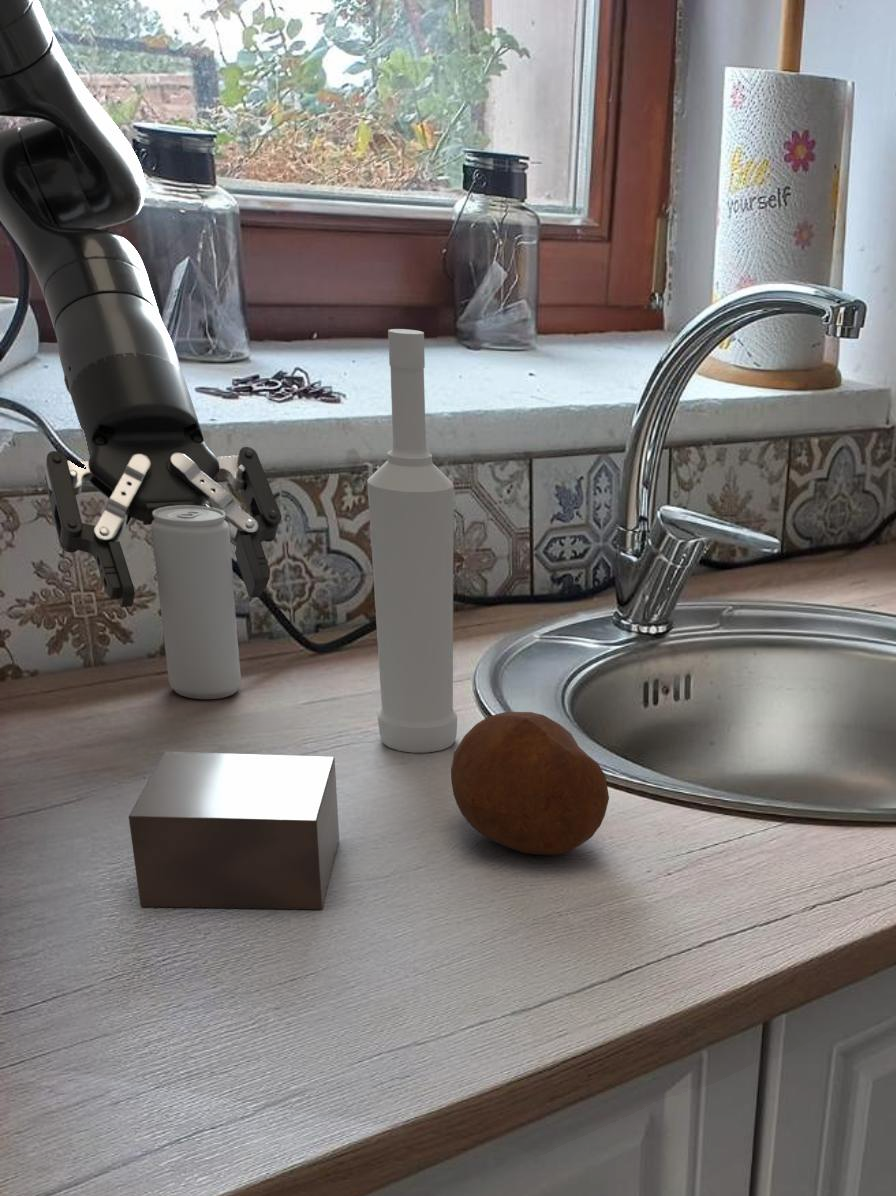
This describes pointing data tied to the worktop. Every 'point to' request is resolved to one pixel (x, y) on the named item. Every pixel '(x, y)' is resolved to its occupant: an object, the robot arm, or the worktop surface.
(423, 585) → the bottle
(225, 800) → the metal block
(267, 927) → the worktop surface
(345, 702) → the worktop surface
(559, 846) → the potato
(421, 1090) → the worktop surface
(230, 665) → the beverage can
